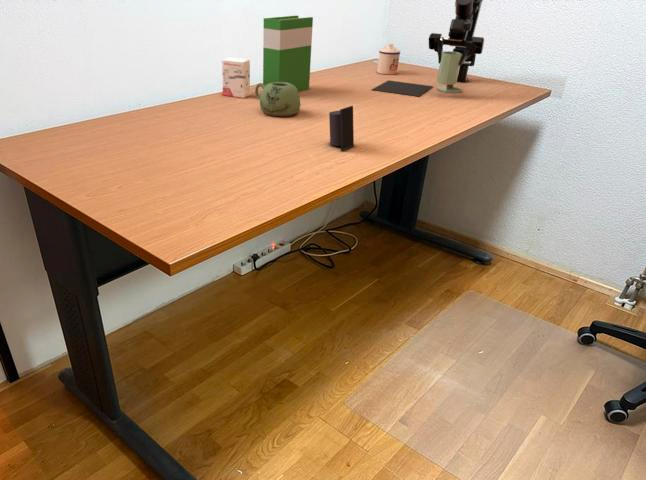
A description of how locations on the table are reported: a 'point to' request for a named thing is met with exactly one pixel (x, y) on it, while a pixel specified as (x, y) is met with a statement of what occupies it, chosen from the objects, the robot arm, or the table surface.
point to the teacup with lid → (388, 60)
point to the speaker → (342, 128)
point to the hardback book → (287, 50)
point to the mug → (279, 99)
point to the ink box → (236, 77)
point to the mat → (403, 88)
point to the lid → (449, 89)
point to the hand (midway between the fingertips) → (449, 63)
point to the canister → (449, 67)
